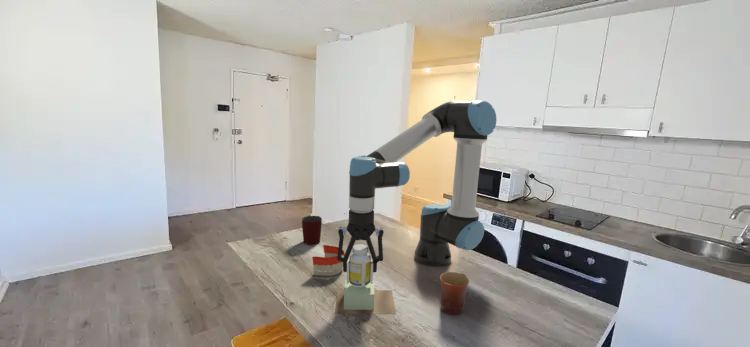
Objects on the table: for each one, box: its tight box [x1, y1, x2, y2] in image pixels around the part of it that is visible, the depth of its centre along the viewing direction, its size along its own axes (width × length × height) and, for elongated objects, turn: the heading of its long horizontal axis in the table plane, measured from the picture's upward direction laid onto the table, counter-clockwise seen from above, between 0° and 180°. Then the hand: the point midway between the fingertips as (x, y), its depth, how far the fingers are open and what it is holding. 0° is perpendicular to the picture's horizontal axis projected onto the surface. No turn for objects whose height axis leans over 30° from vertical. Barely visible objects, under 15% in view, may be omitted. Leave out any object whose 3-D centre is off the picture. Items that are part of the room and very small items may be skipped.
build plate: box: [334, 289, 397, 315], centre depth 103 cm, size 18×13×1 cm
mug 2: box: [439, 271, 470, 315], centre depth 102 cm, size 12×9×10 cm
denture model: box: [311, 244, 345, 277], centre depth 122 cm, size 12×10×8 cm
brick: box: [343, 278, 375, 310], centre depth 102 cm, size 9×9×5 cm
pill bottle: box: [349, 243, 372, 287], centre depth 100 cm, size 6×6×12 cm
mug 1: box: [301, 215, 323, 246], centre depth 151 cm, size 12×9×11 cm
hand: (359, 281), depth 101 cm, fingers closed on pill bottle, 6 cm apart
